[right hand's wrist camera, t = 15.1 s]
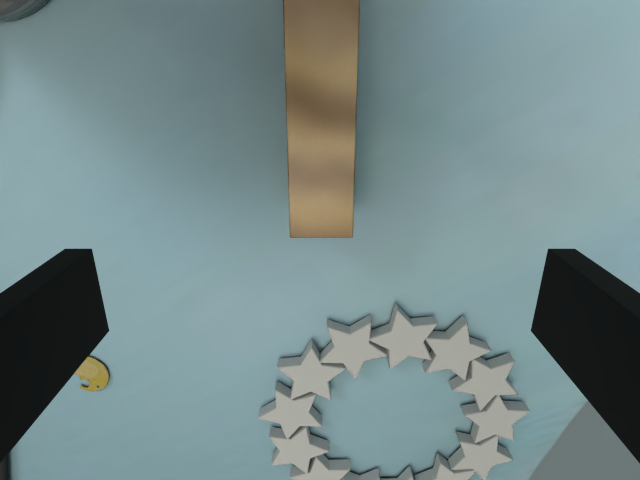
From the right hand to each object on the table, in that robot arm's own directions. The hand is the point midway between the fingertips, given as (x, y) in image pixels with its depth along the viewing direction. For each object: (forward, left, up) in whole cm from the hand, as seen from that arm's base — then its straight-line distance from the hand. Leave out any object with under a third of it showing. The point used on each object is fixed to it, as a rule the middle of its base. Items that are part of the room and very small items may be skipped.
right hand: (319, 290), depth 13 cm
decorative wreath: (-20, -25, -27) cm, 42 cm away
